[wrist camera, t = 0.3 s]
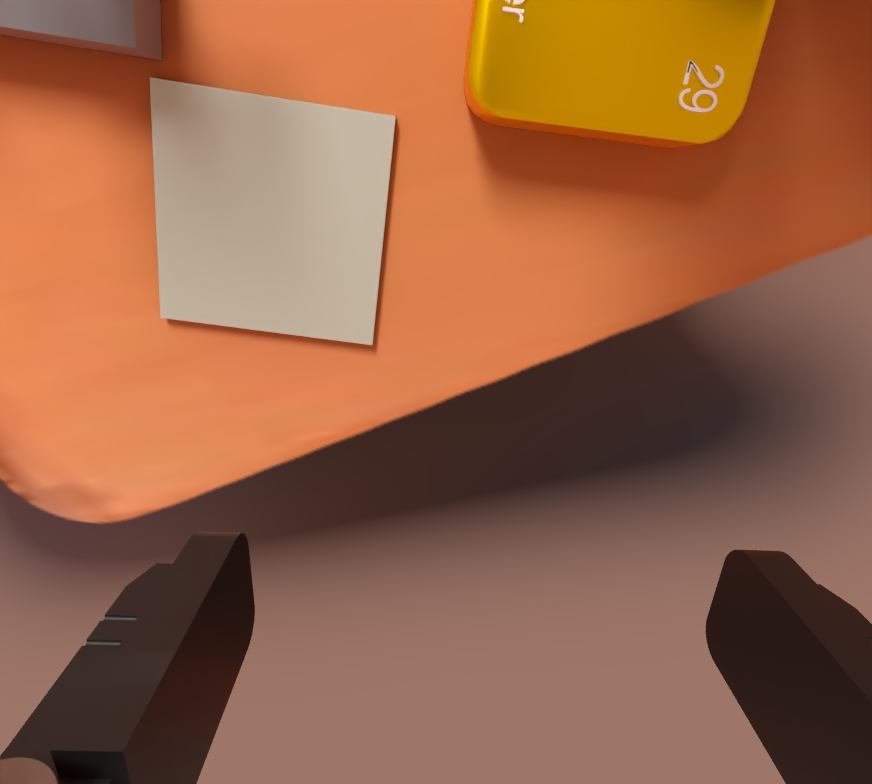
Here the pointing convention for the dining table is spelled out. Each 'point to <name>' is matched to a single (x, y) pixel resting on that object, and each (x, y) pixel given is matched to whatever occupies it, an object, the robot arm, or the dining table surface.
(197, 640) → the robot arm
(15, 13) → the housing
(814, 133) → the dining table surface
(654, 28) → the element tile
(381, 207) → the mat
